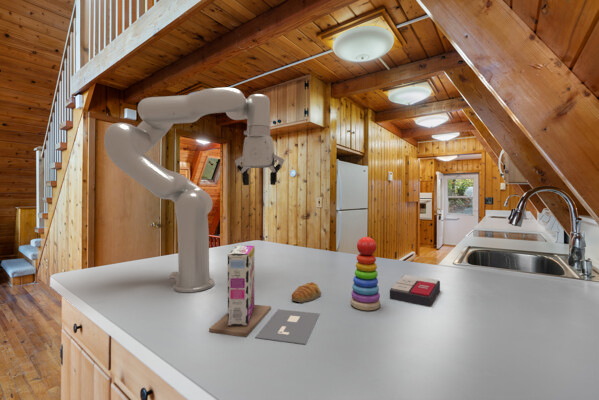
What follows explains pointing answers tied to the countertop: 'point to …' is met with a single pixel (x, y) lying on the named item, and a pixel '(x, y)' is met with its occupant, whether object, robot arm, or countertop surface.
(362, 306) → the stacking toy
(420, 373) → the countertop surface
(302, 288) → the pastry
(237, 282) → the candy bar box
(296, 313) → the tile
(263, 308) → the walnut board
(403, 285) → the dark flat boxy piece
